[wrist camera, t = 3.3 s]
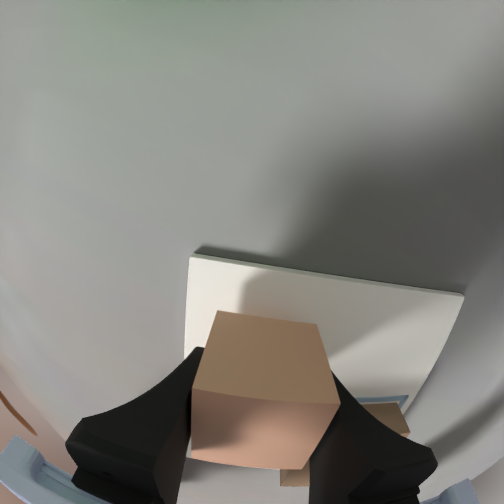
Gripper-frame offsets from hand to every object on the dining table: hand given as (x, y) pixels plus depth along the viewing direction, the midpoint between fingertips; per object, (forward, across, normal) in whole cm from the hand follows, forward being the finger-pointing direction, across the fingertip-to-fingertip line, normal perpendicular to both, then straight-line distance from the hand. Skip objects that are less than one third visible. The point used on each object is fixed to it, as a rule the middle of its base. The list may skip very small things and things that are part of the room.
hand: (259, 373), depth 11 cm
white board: (+3, -4, +5) cm, 7 cm away
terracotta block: (+1, 0, 0) cm, 1 cm away
